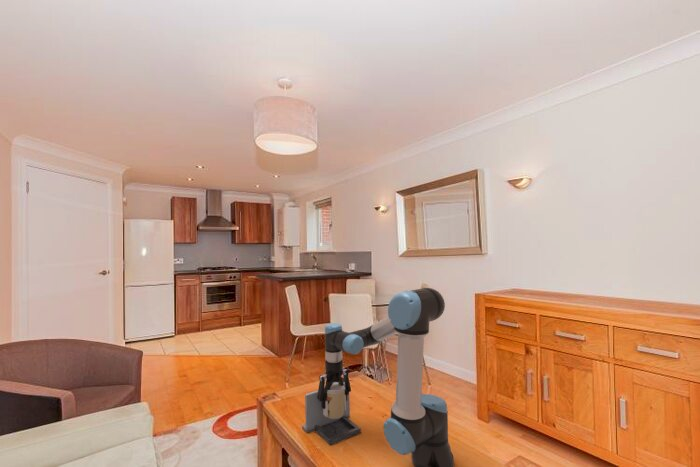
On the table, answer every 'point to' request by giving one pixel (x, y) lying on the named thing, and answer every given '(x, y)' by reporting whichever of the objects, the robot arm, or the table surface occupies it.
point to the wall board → (319, 412)
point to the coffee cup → (335, 400)
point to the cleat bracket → (338, 430)
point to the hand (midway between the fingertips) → (334, 412)
